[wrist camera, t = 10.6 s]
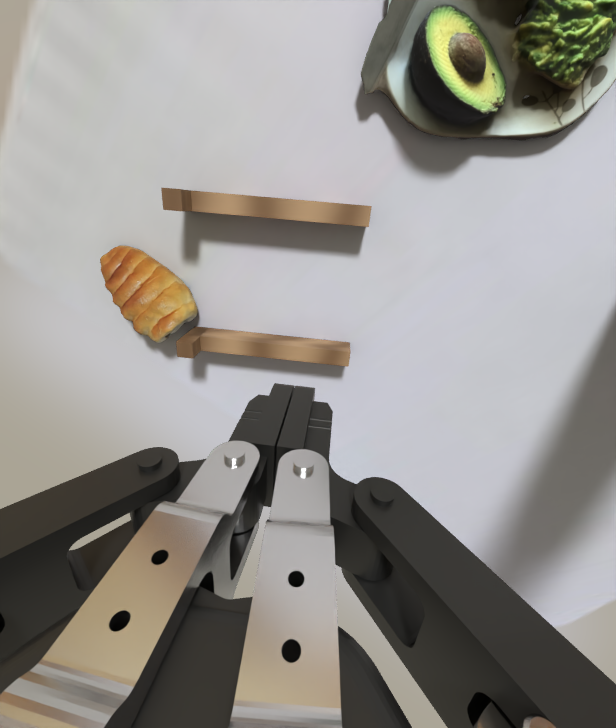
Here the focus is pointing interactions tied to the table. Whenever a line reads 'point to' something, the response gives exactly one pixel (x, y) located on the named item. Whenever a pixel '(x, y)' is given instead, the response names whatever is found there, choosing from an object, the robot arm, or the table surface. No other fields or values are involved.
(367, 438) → the table surface
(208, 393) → the table surface
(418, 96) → the salad plate
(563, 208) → the table surface
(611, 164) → the table surface
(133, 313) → the pastry
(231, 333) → the pair of wooden bars
